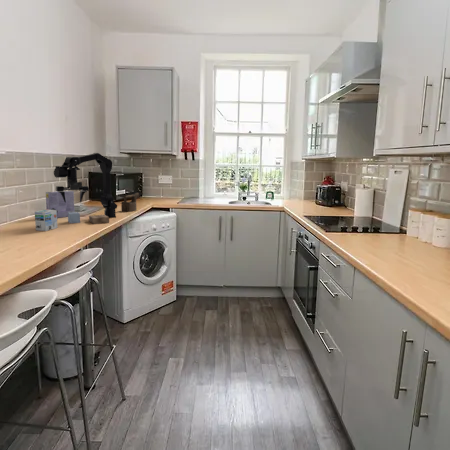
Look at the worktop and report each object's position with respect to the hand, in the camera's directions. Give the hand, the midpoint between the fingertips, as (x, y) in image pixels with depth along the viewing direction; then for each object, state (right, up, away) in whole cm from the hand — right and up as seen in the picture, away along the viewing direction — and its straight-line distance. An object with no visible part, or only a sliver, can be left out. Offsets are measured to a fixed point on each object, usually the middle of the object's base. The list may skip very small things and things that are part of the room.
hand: (73, 202), depth 230 cm
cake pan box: (-16, -9, +20) cm, 27 cm away
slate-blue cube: (0, -13, +2) cm, 13 cm away
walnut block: (+15, -13, +5) cm, 20 cm away
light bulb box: (-6, -17, -21) cm, 27 cm away
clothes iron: (+22, -3, +57) cm, 61 cm away
